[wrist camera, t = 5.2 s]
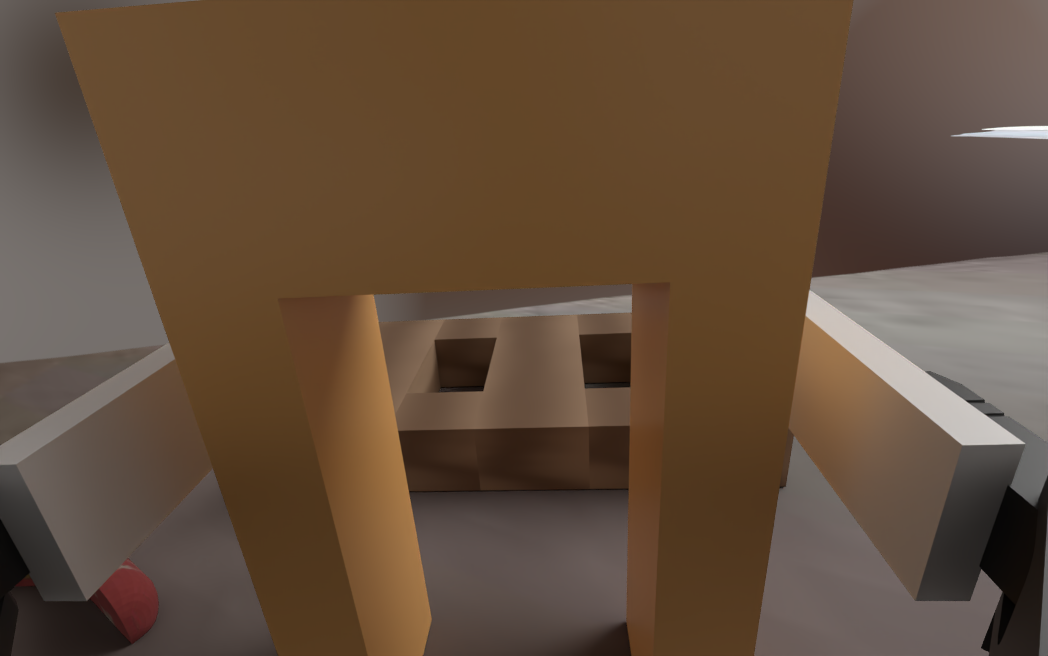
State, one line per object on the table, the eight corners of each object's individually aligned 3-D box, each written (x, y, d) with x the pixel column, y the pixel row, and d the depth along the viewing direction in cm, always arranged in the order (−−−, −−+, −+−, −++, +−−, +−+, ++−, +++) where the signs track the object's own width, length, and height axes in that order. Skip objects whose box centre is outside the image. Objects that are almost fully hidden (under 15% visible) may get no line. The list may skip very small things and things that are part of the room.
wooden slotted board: (706, 355, 32) (709, 309, 31) (785, 486, 21) (795, 422, 20) (384, 365, 34) (376, 322, 32) (300, 492, 23) (283, 433, 21)
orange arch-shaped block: (693, 621, 16) (746, 5, 10) (735, 775, 12) (861, -56, 6) (369, 618, 17) (230, 45, 11) (315, 765, 13) (54, 12, 7)
